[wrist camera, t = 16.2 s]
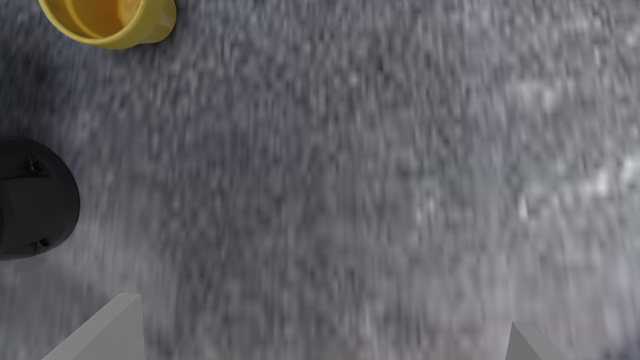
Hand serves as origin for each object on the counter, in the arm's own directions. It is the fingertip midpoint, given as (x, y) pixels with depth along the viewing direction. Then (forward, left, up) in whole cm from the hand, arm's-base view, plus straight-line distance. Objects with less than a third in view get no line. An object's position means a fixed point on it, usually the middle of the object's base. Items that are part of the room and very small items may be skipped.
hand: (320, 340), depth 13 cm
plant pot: (-23, +17, -31) cm, 42 cm away
